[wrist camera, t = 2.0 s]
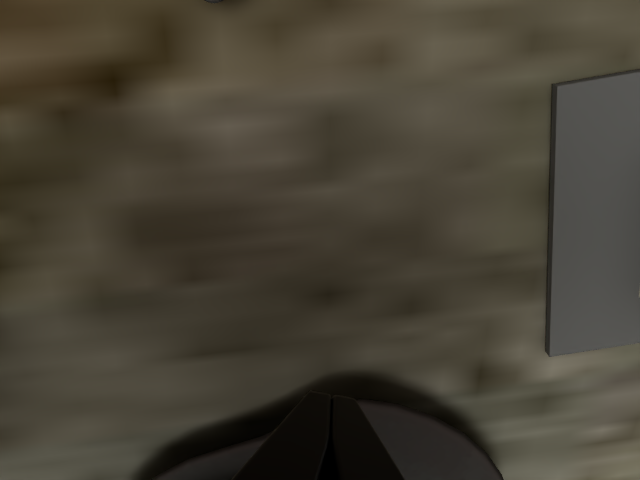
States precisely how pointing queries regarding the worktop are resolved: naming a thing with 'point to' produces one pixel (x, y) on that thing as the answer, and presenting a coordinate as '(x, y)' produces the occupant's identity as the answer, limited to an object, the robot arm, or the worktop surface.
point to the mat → (594, 215)
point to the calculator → (213, 1)
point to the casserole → (395, 433)
